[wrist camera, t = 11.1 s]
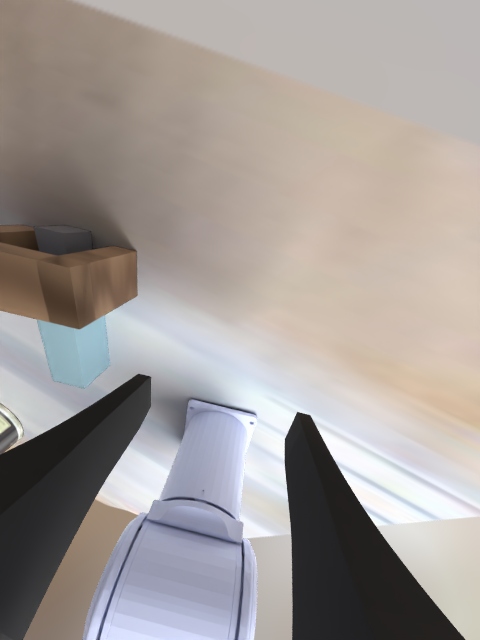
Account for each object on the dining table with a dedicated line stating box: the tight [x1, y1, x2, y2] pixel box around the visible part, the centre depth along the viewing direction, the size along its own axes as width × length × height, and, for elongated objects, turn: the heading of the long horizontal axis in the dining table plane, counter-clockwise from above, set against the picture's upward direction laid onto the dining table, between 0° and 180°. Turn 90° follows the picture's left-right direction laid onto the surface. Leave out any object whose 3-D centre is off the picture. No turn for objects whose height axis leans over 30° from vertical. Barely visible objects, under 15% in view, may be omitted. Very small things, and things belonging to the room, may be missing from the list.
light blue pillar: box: [34, 225, 110, 389], centre depth 19 cm, size 14×3×4 cm, turn 169°
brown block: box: [0, 225, 137, 330], centre depth 16 cm, size 4×10×7 cm, turn 79°
